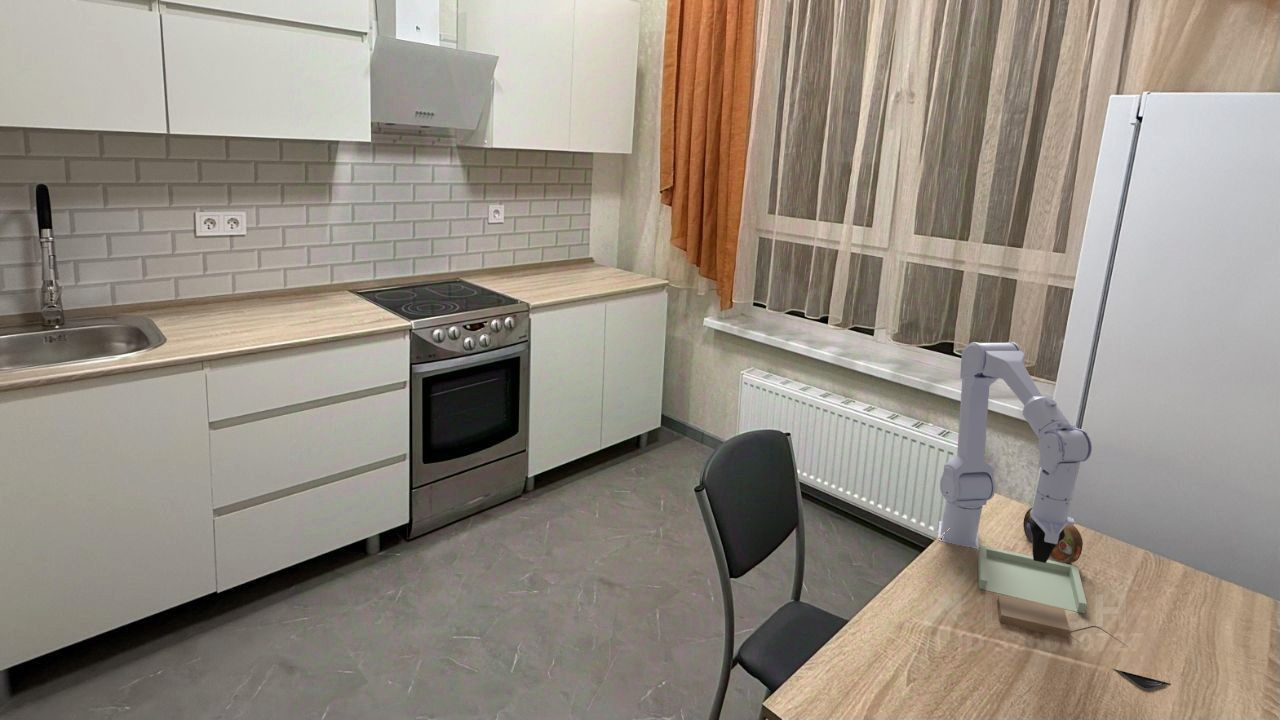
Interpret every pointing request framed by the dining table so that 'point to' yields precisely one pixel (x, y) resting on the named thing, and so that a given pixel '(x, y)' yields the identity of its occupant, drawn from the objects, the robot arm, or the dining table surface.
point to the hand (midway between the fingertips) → (1039, 560)
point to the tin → (1061, 542)
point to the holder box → (1030, 579)
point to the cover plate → (1033, 616)
